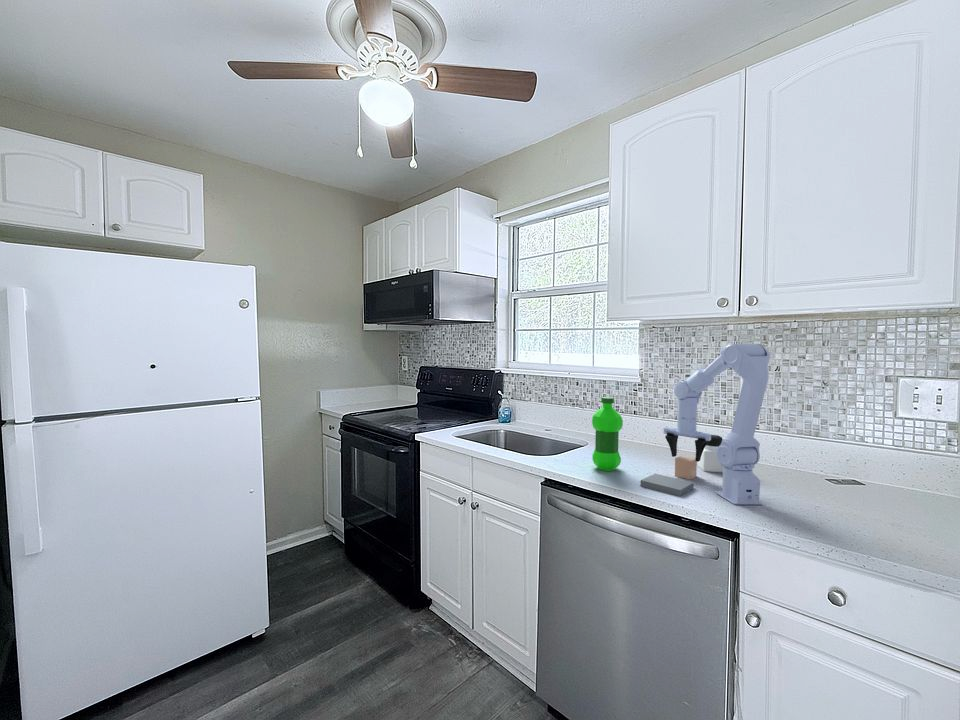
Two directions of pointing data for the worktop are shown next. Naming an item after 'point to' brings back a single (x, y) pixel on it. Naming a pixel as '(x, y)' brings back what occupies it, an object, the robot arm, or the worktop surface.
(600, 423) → the plastic bottle
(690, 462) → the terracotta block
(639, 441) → the worktop surface
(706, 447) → the medicine bottle
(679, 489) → the charcoal base
